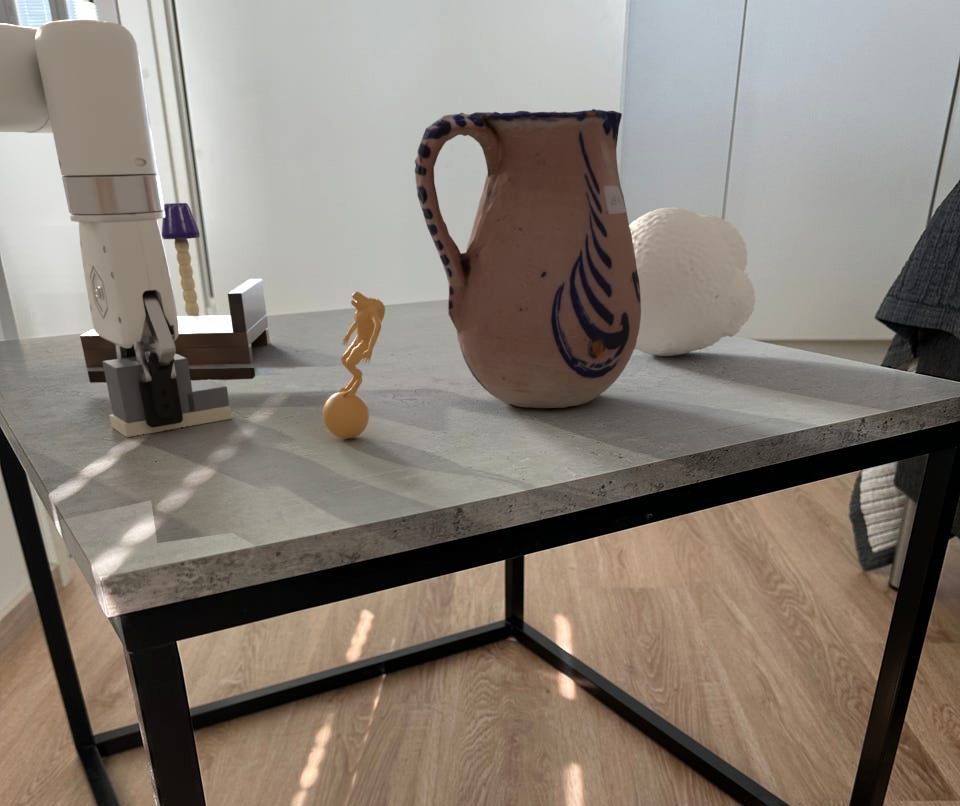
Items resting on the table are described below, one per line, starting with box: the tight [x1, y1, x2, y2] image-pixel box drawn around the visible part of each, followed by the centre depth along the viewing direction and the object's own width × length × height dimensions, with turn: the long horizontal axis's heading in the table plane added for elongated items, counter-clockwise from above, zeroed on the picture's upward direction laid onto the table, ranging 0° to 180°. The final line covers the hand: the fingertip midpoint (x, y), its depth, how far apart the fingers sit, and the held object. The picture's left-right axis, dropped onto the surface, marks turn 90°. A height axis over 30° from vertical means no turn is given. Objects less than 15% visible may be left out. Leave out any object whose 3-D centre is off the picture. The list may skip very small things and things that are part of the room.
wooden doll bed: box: [79, 278, 271, 383], centre depth 105 cm, size 18×12×9 cm, turn 91°
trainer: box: [102, 354, 233, 438], centre depth 85 cm, size 10×4×6 cm, turn 126°
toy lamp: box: [161, 202, 201, 316], centre depth 119 cm, size 5×5×17 cm
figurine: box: [322, 291, 386, 440], centre depth 78 cm, size 8×6×12 cm
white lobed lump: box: [629, 206, 770, 357], centre depth 107 cm, size 20×18×16 cm
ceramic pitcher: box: [414, 108, 641, 409], centre depth 85 cm, size 18×21×25 cm
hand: (155, 416), depth 85 cm, fingers closed on trainer, 4 cm apart
